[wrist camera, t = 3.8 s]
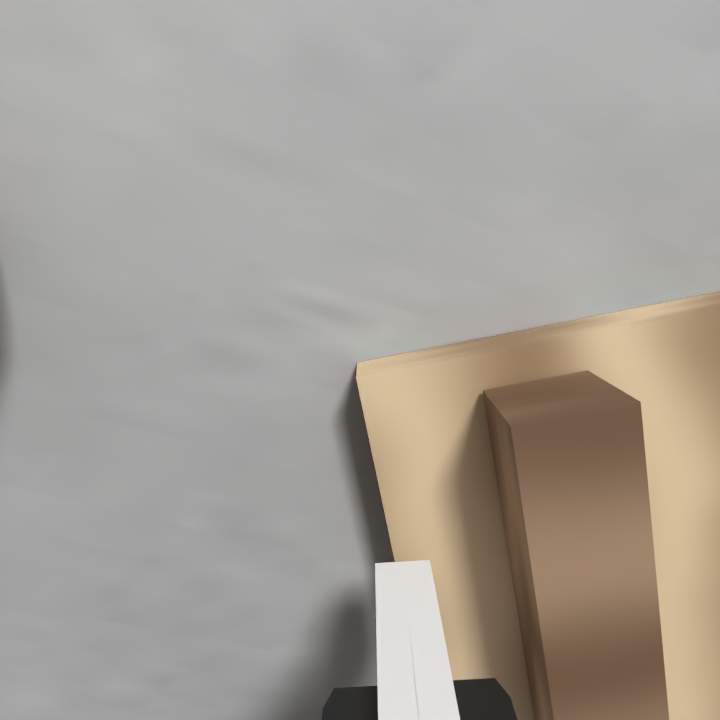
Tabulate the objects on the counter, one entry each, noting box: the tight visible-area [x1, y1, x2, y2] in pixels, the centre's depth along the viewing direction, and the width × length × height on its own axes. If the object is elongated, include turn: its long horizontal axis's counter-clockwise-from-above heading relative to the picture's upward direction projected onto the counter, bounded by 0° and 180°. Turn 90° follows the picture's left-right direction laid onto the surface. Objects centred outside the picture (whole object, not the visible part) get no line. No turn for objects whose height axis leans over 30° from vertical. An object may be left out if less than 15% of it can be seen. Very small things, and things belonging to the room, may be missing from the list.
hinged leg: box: [483, 370, 669, 720], centre depth 16 cm, size 17×4×3 cm, turn 11°
